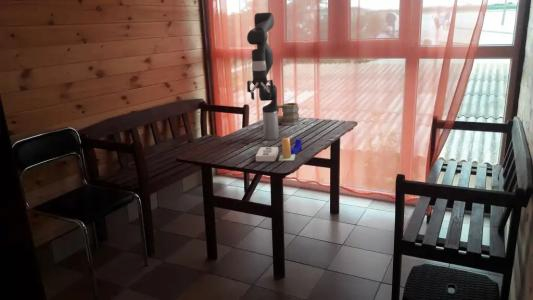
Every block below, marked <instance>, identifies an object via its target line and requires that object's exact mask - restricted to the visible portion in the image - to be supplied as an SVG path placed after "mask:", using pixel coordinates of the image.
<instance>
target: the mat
mask: <svg viewBox="0 0 533 300" xmlns="http://www.w3.org/2000/svg"><path fill="white" fill-rule="evenodd" d="M295 157H296V153H295V154H292V155H291V157H290V158H283V153H282V154H280V155H279V158H278V162H295V161H294V160H295Z"/></svg>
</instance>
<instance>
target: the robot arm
mask: <svg viewBox="0 0 533 300" xmlns="http://www.w3.org/2000/svg"><path fill="white" fill-rule="evenodd" d="M253 18H254V27H253V29H250V30H249V31H248V32H247V35H246V40H247V43H248V44H249V45H252V46H255V45H256V48H255V49H252V50H251V70H252V72H251V73H252V80H247V82H246V85H247V86H246V91H247V93H249V94H250V99H251V100H252V101H254V100H255V90H256V89H258V95H259V96H258V97H259V100H260V101H261V102H265V101H270V103H268V104H266V105H264V106H263V107H262V109H261V110H262V123H263V124H262V125H263V139H264V140H265V141H274V140H278V139H279V138H280V135H279V134H280V133H279V122H278V118H279V116H278V114H279V112H277V105H278V88H277V86H276V84H274V80H273V79H269V80H268V76H267V75H268V74H269V72H270V71H271V69H272V66H273V64H274V59H273V58H274V56H273V54H274V53H273V50H272V48H271V47H270V46H269V43H268V38H269V37H268V32H269V31H270V30H272V29H273V27H274V25H275V23H274V22H275V18H274V14H273V13H271V12H257V13H255V14H254V16H253ZM251 85H253V87H252V89H251Z"/></svg>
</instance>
